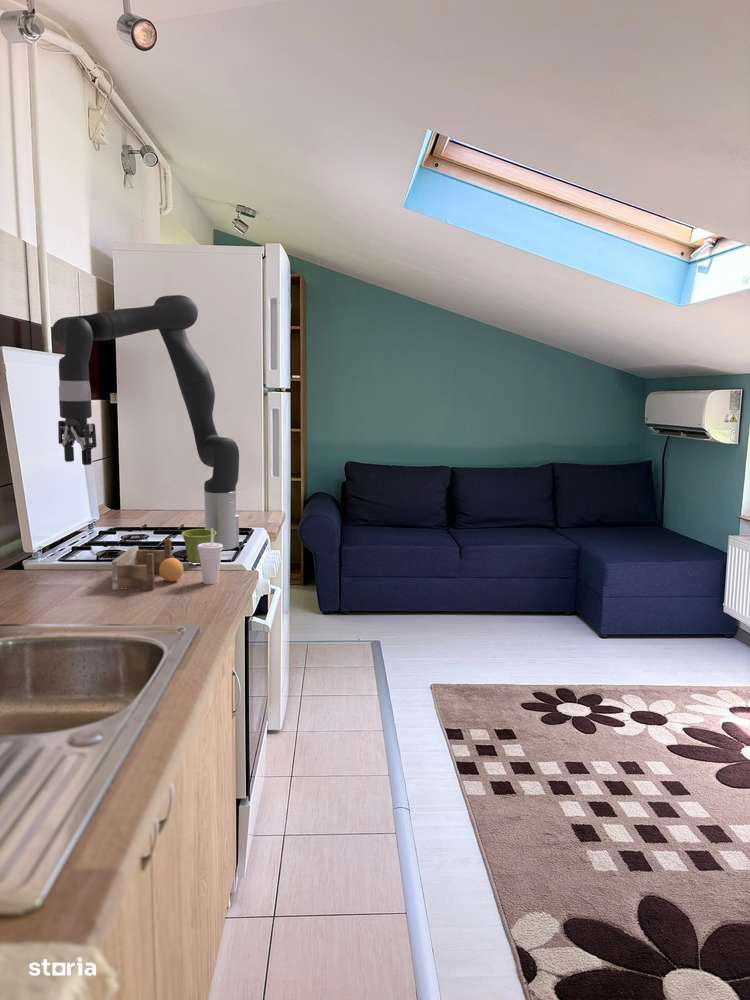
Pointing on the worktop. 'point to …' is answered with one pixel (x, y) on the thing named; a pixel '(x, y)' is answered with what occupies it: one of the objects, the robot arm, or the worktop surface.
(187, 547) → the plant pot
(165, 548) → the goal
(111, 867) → the worktop surface
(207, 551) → the smoothie
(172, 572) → the ball
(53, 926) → the worktop surface
